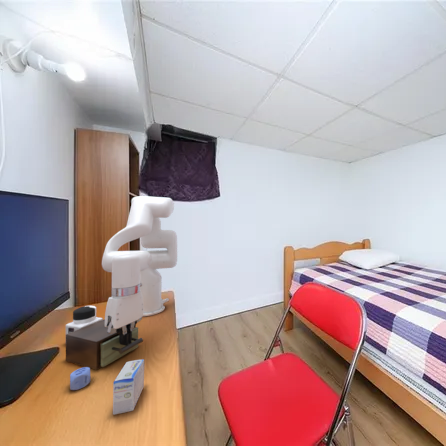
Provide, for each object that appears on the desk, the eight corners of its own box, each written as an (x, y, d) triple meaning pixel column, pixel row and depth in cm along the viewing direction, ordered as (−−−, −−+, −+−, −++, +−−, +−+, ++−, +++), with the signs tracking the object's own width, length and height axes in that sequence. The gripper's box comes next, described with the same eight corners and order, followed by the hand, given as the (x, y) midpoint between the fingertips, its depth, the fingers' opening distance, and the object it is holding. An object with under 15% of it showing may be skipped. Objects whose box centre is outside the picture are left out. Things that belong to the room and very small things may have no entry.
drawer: (148, 349, 78) (148, 329, 78) (114, 370, 67) (115, 347, 67) (111, 340, 83) (111, 322, 83) (74, 359, 72) (74, 337, 72)
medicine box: (125, 391, 60) (125, 361, 60) (144, 387, 62) (144, 358, 62) (112, 416, 53) (112, 381, 53) (134, 410, 54) (134, 377, 54)
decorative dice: (70, 392, 59) (70, 378, 59) (70, 385, 62) (70, 371, 62) (90, 384, 62) (90, 371, 62) (89, 377, 65) (89, 364, 65)
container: (80, 347, 80) (80, 312, 80) (64, 344, 82) (65, 310, 81) (103, 336, 88) (103, 304, 87) (88, 333, 89) (88, 302, 89)
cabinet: (135, 347, 81) (135, 323, 81) (96, 369, 69) (96, 341, 68) (107, 340, 85) (107, 318, 84) (65, 361, 72) (65, 334, 72)
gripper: (139, 283, 81) (138, 331, 82) (92, 296, 67) (91, 354, 67) (154, 285, 79) (154, 334, 80) (109, 299, 65) (109, 359, 65)
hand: (125, 343), depth 73 cm, fingers closed
